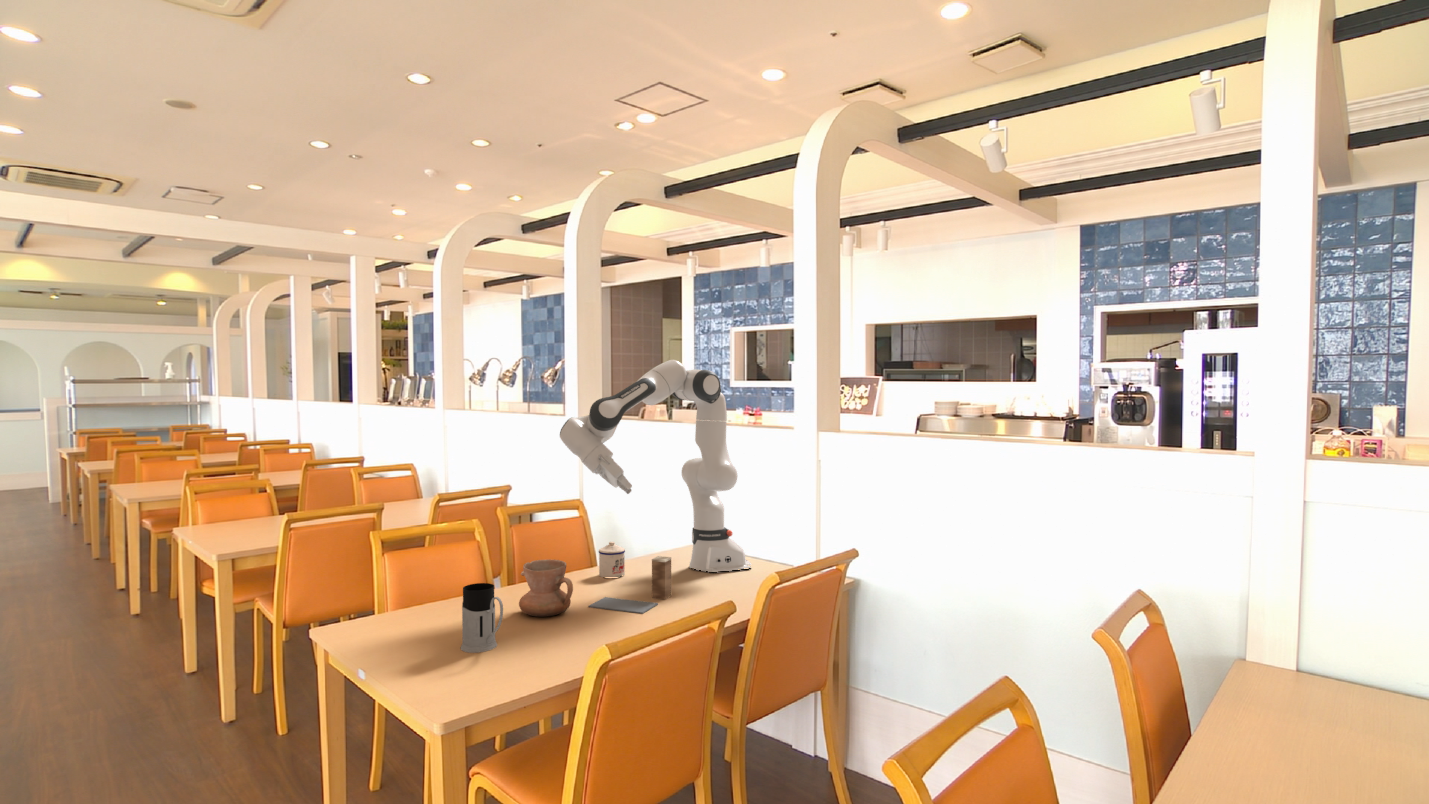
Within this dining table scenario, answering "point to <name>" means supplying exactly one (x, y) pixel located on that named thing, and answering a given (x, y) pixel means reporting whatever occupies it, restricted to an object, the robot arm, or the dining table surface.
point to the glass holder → (479, 618)
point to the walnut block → (661, 577)
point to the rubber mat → (623, 605)
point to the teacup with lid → (611, 561)
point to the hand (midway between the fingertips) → (630, 490)
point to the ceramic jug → (545, 588)
